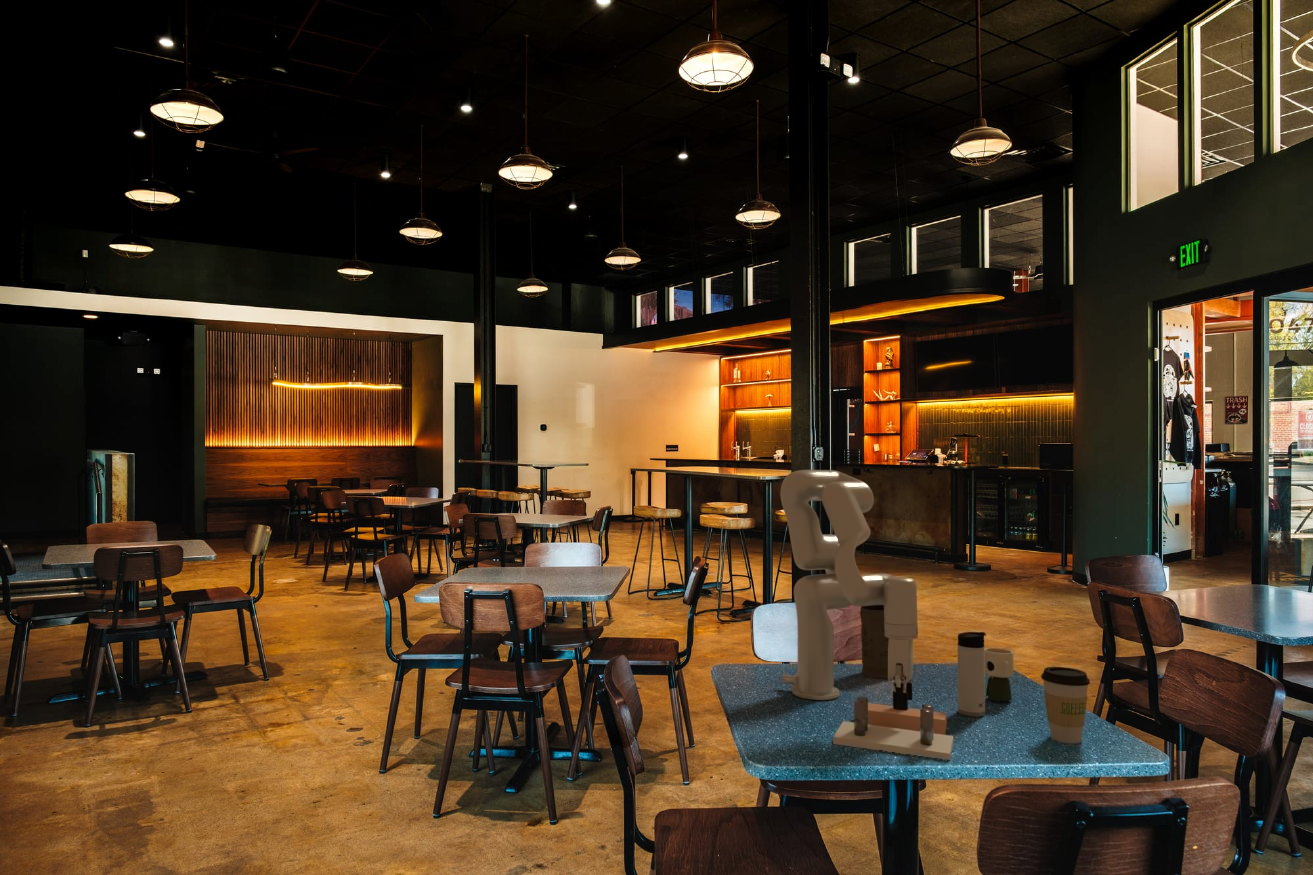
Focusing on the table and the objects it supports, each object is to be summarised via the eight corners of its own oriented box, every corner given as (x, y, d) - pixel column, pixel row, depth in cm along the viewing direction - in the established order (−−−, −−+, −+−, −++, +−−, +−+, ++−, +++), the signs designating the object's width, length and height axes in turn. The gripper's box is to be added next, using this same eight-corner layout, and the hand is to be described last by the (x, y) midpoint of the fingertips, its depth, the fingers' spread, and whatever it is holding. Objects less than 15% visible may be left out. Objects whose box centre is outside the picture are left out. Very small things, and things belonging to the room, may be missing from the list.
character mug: (977, 694, 213) (976, 645, 213) (1003, 694, 213) (1003, 646, 213) (993, 706, 202) (993, 655, 202) (1021, 706, 202) (1021, 655, 202)
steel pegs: (853, 735, 174) (853, 702, 174) (857, 727, 180) (857, 696, 180) (931, 746, 168) (931, 712, 168) (934, 737, 173) (933, 705, 173)
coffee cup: (1089, 749, 171) (1088, 679, 172) (1039, 740, 176) (1038, 672, 177) (1092, 736, 179) (1091, 669, 180) (1044, 728, 185) (1043, 663, 185)
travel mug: (988, 718, 192) (988, 635, 193) (960, 716, 194) (959, 633, 194) (983, 710, 198) (983, 630, 199) (955, 708, 200) (955, 628, 200)
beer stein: (878, 681, 225) (877, 610, 226) (852, 672, 235) (852, 604, 235) (917, 675, 232) (917, 606, 233) (891, 667, 242) (890, 601, 243)
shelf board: (855, 725, 187) (855, 708, 187) (859, 718, 192) (859, 701, 192) (944, 737, 179) (944, 720, 179) (946, 730, 184) (946, 712, 184)
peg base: (833, 743, 173) (833, 736, 173) (843, 727, 184) (843, 721, 184) (950, 760, 163) (949, 753, 163) (953, 742, 174) (953, 735, 174)
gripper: (889, 623, 196) (891, 694, 194) (879, 635, 180) (881, 712, 179) (921, 625, 193) (923, 697, 191) (913, 637, 177) (916, 715, 176)
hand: (903, 704), depth 185 cm, fingers open, 9 cm apart
